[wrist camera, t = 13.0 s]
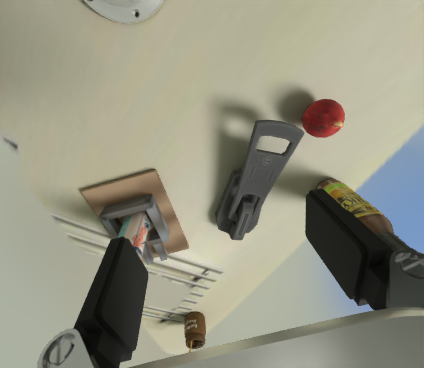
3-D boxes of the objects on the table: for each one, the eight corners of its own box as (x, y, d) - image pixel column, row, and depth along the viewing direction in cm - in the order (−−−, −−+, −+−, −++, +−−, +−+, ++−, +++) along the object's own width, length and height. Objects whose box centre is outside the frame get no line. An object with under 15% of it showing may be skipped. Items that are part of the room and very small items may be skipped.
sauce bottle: (344, 176, 44) (448, 248, 26) (335, 201, 47) (423, 281, 29) (315, 177, 43) (401, 251, 26) (308, 203, 46) (381, 284, 29)
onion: (296, 135, 38) (320, 150, 31) (292, 103, 36) (318, 111, 29) (327, 124, 38) (359, 137, 31) (326, 91, 35) (361, 97, 28)
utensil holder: (209, 315, 63) (213, 365, 52) (194, 325, 64) (195, 375, 54) (194, 308, 60) (195, 359, 50) (179, 319, 62) (178, 370, 52)
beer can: (149, 229, 44) (137, 280, 33) (125, 226, 43) (105, 278, 32) (152, 211, 42) (140, 259, 31) (127, 207, 41) (106, 256, 30)
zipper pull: (311, 128, 31) (258, 251, 43) (292, 119, 37) (249, 229, 48) (254, 116, 30) (215, 247, 41) (243, 108, 35) (211, 225, 47)
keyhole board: (83, 189, 39) (73, 201, 36) (155, 169, 39) (152, 179, 35) (130, 260, 49) (126, 275, 45) (188, 245, 48) (188, 259, 45)
